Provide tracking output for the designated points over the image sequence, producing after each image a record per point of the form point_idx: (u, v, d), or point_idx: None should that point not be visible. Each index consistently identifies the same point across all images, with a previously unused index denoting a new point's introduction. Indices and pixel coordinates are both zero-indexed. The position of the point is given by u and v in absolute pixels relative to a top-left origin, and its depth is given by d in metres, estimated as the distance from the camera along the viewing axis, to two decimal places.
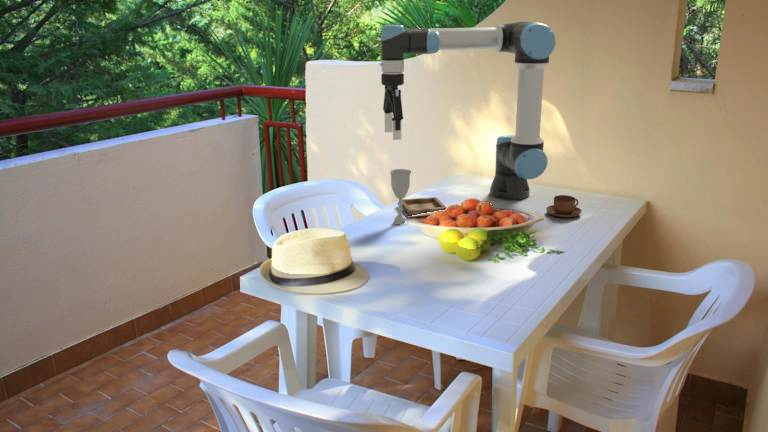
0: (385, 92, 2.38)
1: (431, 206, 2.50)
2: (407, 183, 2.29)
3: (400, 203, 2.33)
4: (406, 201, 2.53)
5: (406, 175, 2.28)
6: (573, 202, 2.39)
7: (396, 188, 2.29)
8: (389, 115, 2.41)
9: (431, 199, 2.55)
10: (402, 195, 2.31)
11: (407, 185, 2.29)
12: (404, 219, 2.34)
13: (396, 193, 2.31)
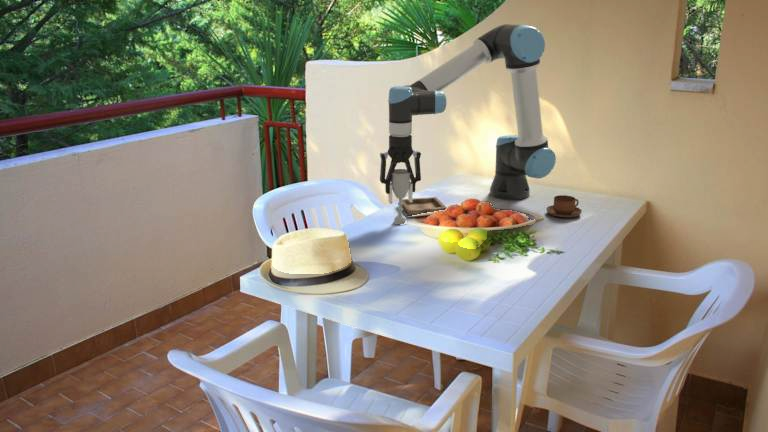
0: (414, 157, 2.31)
1: (431, 206, 2.50)
2: (407, 183, 2.29)
3: (400, 203, 2.33)
4: (406, 201, 2.53)
5: (406, 175, 2.28)
6: (573, 202, 2.39)
7: (396, 188, 2.29)
8: None
9: (431, 199, 2.55)
10: (402, 195, 2.31)
11: (407, 185, 2.29)
12: (404, 219, 2.34)
13: (396, 193, 2.31)
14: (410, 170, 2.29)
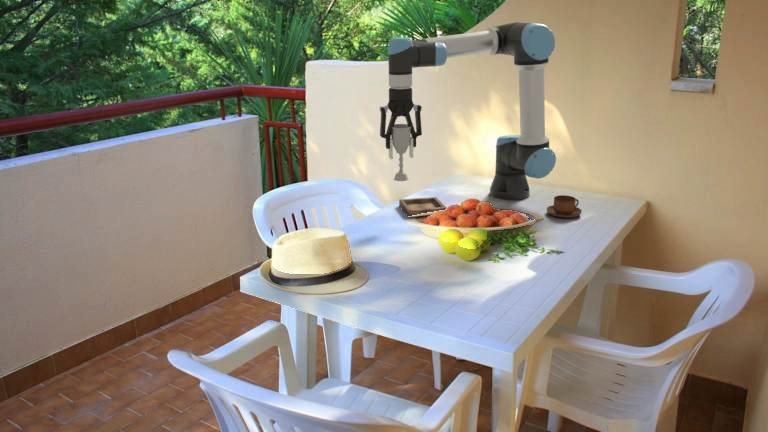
0: (415, 111, 2.26)
1: (431, 206, 2.50)
2: (407, 138, 2.24)
3: (401, 159, 2.28)
4: (406, 201, 2.53)
5: (407, 129, 2.23)
6: (573, 202, 2.39)
7: (396, 142, 2.25)
8: (410, 139, 2.27)
9: (431, 199, 2.55)
10: (403, 150, 2.26)
11: (408, 140, 2.25)
12: (405, 175, 2.29)
13: (396, 148, 2.26)
14: (411, 124, 2.25)
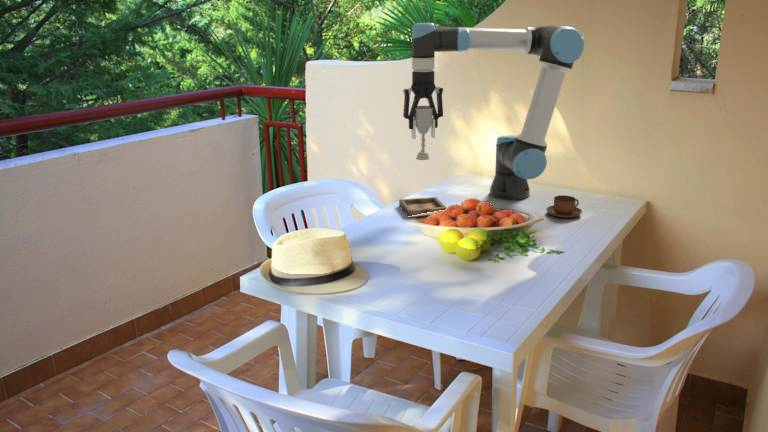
0: None
1: (431, 206, 2.50)
2: (430, 119, 2.36)
3: (423, 139, 2.40)
4: (406, 201, 2.53)
5: (429, 110, 2.35)
6: (573, 202, 2.39)
7: (419, 123, 2.36)
8: (432, 120, 2.39)
9: (431, 199, 2.55)
10: (425, 130, 2.38)
11: (430, 120, 2.36)
12: (427, 154, 2.41)
13: (419, 128, 2.38)
14: (433, 106, 2.36)
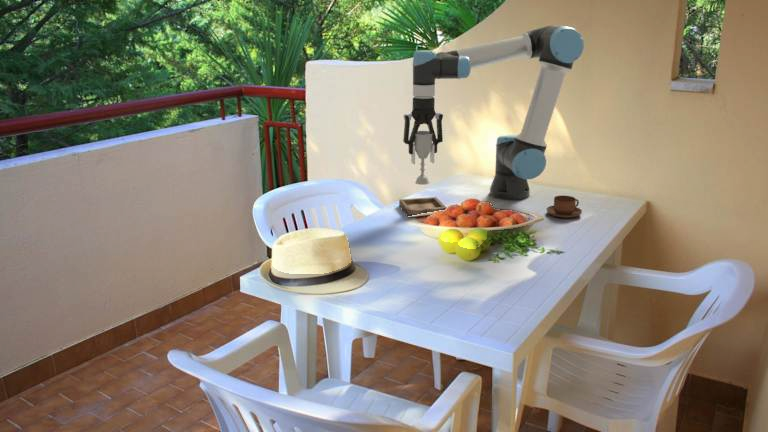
0: None
1: (431, 206, 2.50)
2: (429, 144, 2.39)
3: (422, 163, 2.43)
4: (406, 201, 2.53)
5: (429, 136, 2.38)
6: (573, 202, 2.38)
7: (419, 148, 2.39)
8: None
9: (431, 199, 2.55)
10: (424, 155, 2.41)
11: (429, 146, 2.40)
12: (426, 179, 2.44)
13: (419, 153, 2.41)
14: (432, 131, 2.39)
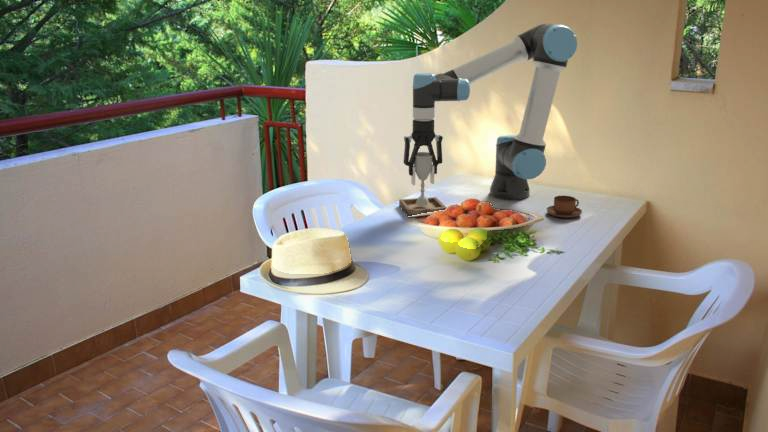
0: (436, 141, 2.43)
1: (431, 206, 2.50)
2: (429, 166, 2.42)
3: (422, 184, 2.45)
4: (406, 201, 2.53)
5: (429, 157, 2.40)
6: (573, 202, 2.38)
7: (419, 170, 2.42)
8: None
9: (431, 199, 2.55)
10: (424, 177, 2.43)
11: (429, 167, 2.42)
12: (426, 200, 2.46)
13: (419, 175, 2.43)
14: (432, 153, 2.42)
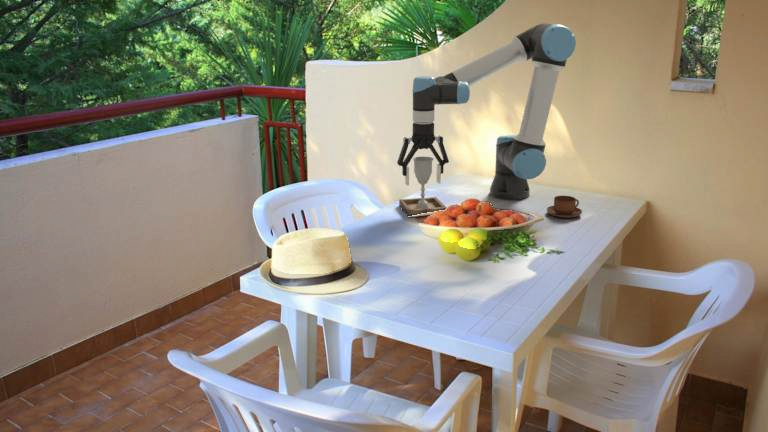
0: (438, 142, 2.44)
1: (431, 206, 2.50)
2: (429, 170, 2.42)
3: (422, 189, 2.46)
4: (406, 201, 2.53)
5: (429, 162, 2.41)
6: (573, 202, 2.38)
7: (419, 174, 2.42)
8: (437, 166, 2.45)
9: (431, 199, 2.55)
10: (425, 181, 2.44)
11: (429, 171, 2.42)
12: (426, 204, 2.47)
13: (419, 179, 2.44)
14: (436, 154, 2.42)
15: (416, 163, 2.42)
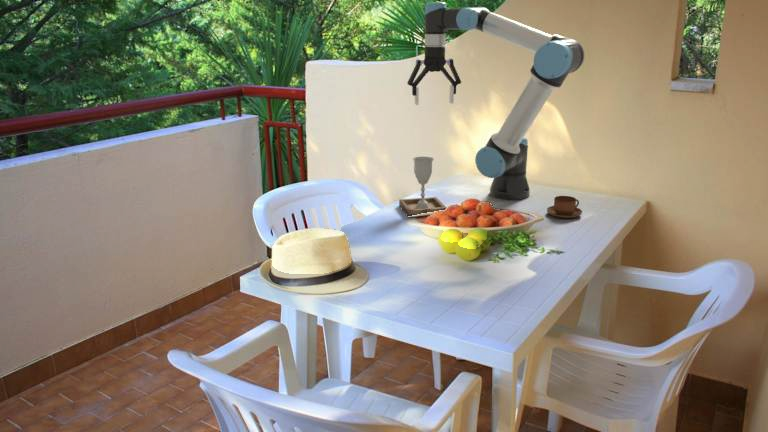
0: (449, 65, 2.59)
1: (431, 206, 2.50)
2: (429, 170, 2.42)
3: (423, 189, 2.46)
4: (406, 201, 2.53)
5: (429, 162, 2.41)
6: (574, 203, 2.38)
7: (419, 174, 2.42)
8: (450, 87, 2.60)
9: (431, 199, 2.55)
10: (425, 181, 2.44)
11: (429, 171, 2.42)
12: (426, 204, 2.47)
13: (419, 179, 2.44)
14: (448, 75, 2.57)
15: (416, 163, 2.42)
